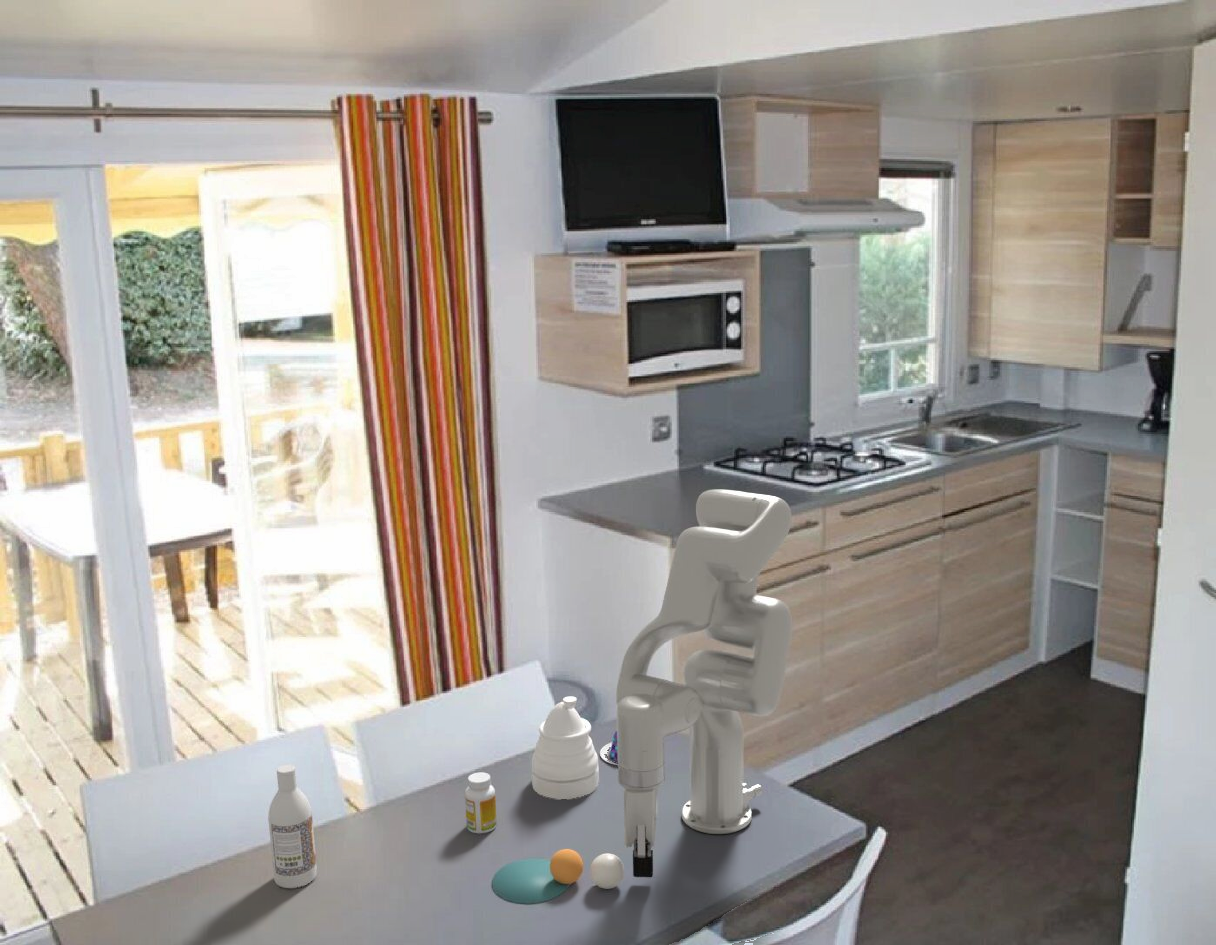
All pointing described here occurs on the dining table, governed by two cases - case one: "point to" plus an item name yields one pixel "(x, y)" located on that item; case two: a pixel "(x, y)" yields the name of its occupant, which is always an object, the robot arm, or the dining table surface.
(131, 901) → the dining table surface
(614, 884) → the white ball
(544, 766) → the honey pot
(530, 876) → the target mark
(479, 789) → the supplement bottle
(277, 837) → the bath foam
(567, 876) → the orange ball
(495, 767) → the dining table surface
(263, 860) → the dining table surface
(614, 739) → the pudding
